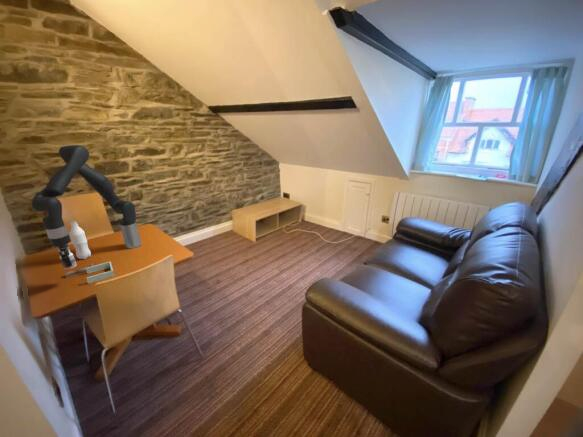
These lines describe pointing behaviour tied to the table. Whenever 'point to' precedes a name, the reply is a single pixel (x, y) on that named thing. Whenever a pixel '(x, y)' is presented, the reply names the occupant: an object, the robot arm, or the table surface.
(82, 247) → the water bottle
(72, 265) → the pill bottle
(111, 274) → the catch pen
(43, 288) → the table surface
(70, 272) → the bar
